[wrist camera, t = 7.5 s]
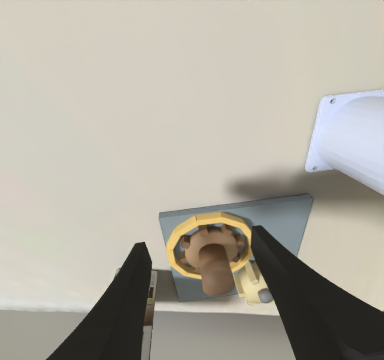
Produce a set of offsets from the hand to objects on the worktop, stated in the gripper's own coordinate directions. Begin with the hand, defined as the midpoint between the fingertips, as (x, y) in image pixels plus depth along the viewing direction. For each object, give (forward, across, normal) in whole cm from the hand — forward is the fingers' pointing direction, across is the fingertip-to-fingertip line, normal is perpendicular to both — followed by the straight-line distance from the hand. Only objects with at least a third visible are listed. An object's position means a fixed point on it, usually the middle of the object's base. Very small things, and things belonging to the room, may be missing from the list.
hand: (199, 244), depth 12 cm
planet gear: (+8, -2, +10) cm, 13 cm away
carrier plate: (+9, -5, +14) cm, 18 cm away
